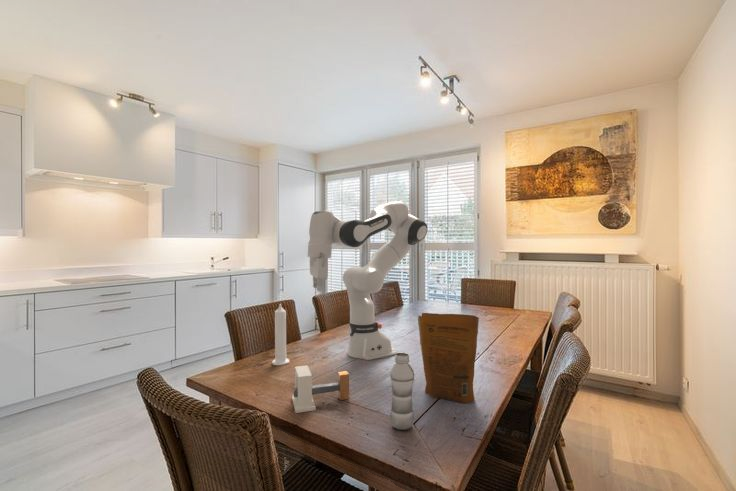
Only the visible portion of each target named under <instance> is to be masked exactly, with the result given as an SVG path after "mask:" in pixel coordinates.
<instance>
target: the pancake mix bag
mask: <svg viewBox="0 0 736 491" xmlns="http://www.w3.org/2000/svg"><path fill="white" fill-rule="evenodd" d="M479 322H480V317H478V316H476V315H472V314H465V313H464V314H461V313H433V312H421V315H418V319H417V325H418V331H419V344H420V350H421V357H422V365H423V372H424V378H425V379H424V380H425V383H426V384H425V387H424V388H425V389H424V392H425V393H426V394H427V395H428V396H430V397H432V398H436V399H440V400H447V401H452V402H456V403H461V404H469V403H474V402H476V400H475V399H476V398H475V394H474V378H475V367H476V366H475V364H476V363H475V362H476V357H477V348H478V336H479V335H478V334H479Z"/></svg>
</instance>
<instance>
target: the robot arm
mask: <svg viewBox="0 0 736 491" xmlns="http://www.w3.org/2000/svg"><path fill="white" fill-rule="evenodd" d="M308 228H309V230H308V234H309V241H308V245H307V246H308V247H307V257H308V258H309V274H310V276H312V287H313V289H316V291H317V292H323V287H324V282H325V281H327V279H328V276H329V275H328V274H329V272H328V271H329V261H328V260H329V259H331V258H332V252H333V251H332V249H333V245H335V246H345V247H351V248H358V247H360V246H362V245H363V244H364V243H365V242H366V241H367V240H368V239H369V238H370V237H372V236H374V235H376V234H378V233H381V232H383V231H389V232H391V233H393V234H394V235H393V237H392V238H391V239H389V240H388V241H387V242H385V243H384V244H383V245H382V246H381V247H379V248H378V249H377V250H376V251H375V252H374V253H372V255H371V257H370V258H371V259H370V260H369V262H368V263H367V264H365V266H352V267H349V268H348V267H347V269H345V271H344V272H343V274H342V281H343V284H344V286H345V288H346V293H347V297H348V301H349V322H348V324H349V325H348V334H349V340H348V341H349V342H348V347H347V350H346V355H347V356H348V357H350V358H353V359H354V358H356V359H363V360H366V361H370V360H375V359H380V358H385V357H390V356H391V357H392V356H395V354H396V353H397V350H396V348H395V347H393V346H392V341H391V339H390V338H389V337H388V336H387V335H386V334H385V333H383V332H382V331H380V330H379V329H382V328H383V324H381V323H380V322H376V321H375V320H376V319H375V318H376V317H375V304H374V302H373V299H372V298H371V294H377V293H378V292H380V291H381V290H382V288H383V286H384V280H385V278H386V277H387V275H388V274H389V273H390V272H391V270H392V269H394V268H395V267H396V266H397V265H398V264H399V263H400V262H402V260H403V259H404V258H405V257H406V256H407V254H408V253H410V250H411V249H412V246H414V245H416V244H417V243H420V242H421V241H423V239H424V238H425V237H426V236H427V234H428V225H427V223H426V222H425V221H424V220H422V219H421V218H418V217H416V216H415V215H412V214H410V212H409V208H408V206H407V204H405V203H404V202H402V201H392V202H387V203H383V204H380V205H378V206H376V207H374V208H373V209H371V211H370V213H369V219H365V220H364V221H363V220H359V219H353V220H341V219H340V218H338V217H337V216H336V215H335V214H334V213H333V211H332V210H317V211H314V212H313V213H312V214H311V216H310V221H309V227H308Z"/></svg>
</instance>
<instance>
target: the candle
mask: <svg viewBox="0 0 736 491" xmlns="http://www.w3.org/2000/svg"><path fill="white" fill-rule="evenodd" d="M274 353H275V354H274V355H275V356H274V357H275V358H274V359H273V360H272V361H271V363H272V365H273V366H284V365H285V366H286V365H288V364H289V363H290V359H289V358H288V357H287V312H286V310H285V309H284V308H283V307H282V303H279V305H278V308H277V309H276V310H275V311H274Z"/></svg>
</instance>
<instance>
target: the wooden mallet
mask: <svg viewBox="0 0 736 491" xmlns="http://www.w3.org/2000/svg"><path fill="white" fill-rule="evenodd" d="M292 389H293V390H292V391H293V392H292V393H293V395H294V397H298V388H295V387H294V388H292ZM333 392H337V397H338V399H339V401H343V400H349V399H350V373H349V372H348V371H347V370H342V371H338V372H337V382H329V383H323V384H316V385H314V384H313V385H312V396H313V395H319V394H327V393H333Z"/></svg>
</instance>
